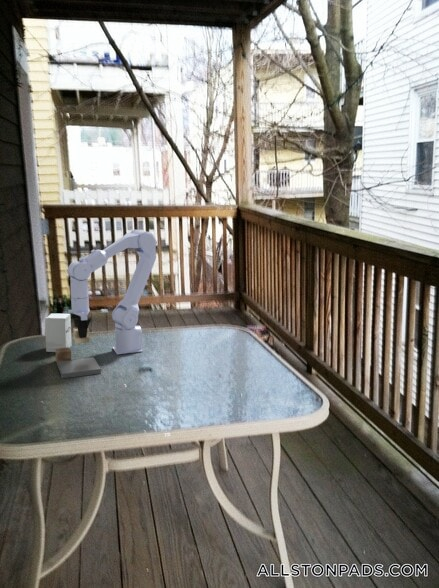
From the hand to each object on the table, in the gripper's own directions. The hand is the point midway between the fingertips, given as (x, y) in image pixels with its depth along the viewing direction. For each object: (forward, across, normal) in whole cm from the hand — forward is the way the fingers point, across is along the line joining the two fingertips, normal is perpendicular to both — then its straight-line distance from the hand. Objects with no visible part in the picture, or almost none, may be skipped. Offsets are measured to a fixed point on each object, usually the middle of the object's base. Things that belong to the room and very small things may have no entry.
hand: (81, 335), depth 182 cm
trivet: (+8, +11, -3) cm, 14 cm away
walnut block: (+8, +2, -7) cm, 11 cm away
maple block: (+2, 0, 0) cm, 2 cm away
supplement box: (+8, -13, -6) cm, 17 cm away
